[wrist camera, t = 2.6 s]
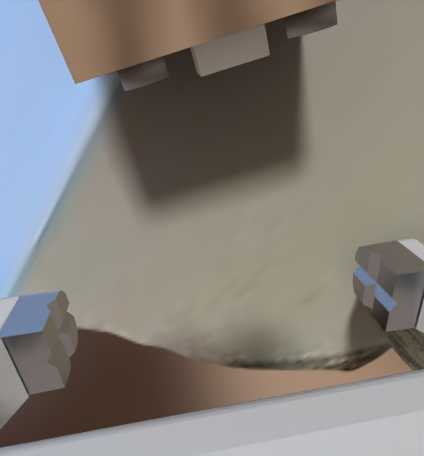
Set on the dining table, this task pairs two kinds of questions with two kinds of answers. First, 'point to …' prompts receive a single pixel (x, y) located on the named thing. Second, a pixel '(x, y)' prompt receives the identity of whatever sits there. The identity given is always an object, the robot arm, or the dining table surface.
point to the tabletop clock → (406, 344)
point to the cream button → (230, 50)
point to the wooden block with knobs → (163, 30)
